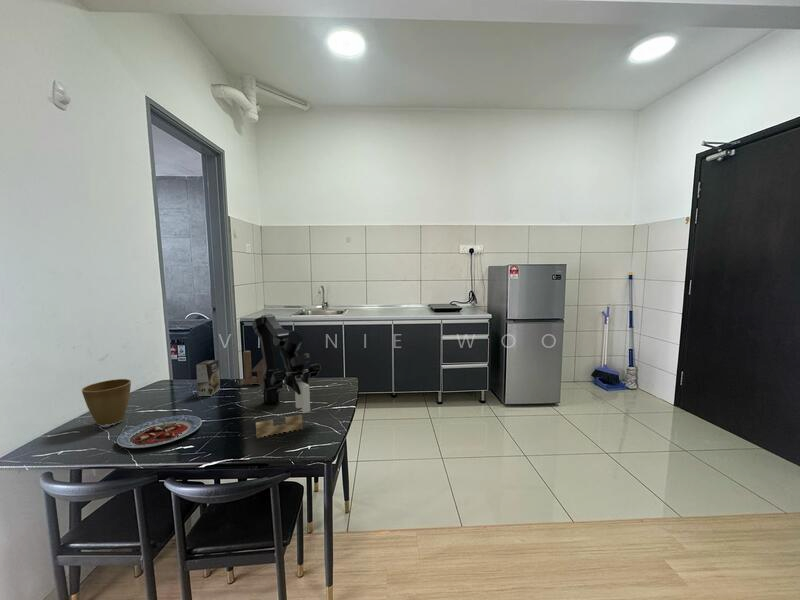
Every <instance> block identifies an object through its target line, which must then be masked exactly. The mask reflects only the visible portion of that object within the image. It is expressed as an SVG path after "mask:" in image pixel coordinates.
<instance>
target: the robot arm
mask: <svg viewBox="0 0 800 600" xmlns="http://www.w3.org/2000/svg"><path fill="white" fill-rule="evenodd" d="M251 323H252V325H251V326H252V329H253V331H254V334H255V335H256V336H257V337H258V338H259V341H260V347H261V353H262V359H263V361H264V367H265V370H264V372H263V375H262V381H261V383H260V385H259V389H260V391H261V392H263V394H262V395H263V402H262V403H261V404H262V405H263V404H272V405H273V404H274V405H277V404H278V403H279V402H280V401H281V400H282V396H281V394H282V393H281V391H280V389H283V385H284V386H287V387H289V388H290V389H292V390H293V391H294V393H295V392H297V393H298V394H299V395H300V394H301V392H300V389H299V386H298V384H297V380H296V377H301V379H300V381H302V382H304V383H306V384H308V385H309V379H310V378H315V377H317V376H318V375H319V374H320V372H321V370H322V367H321V364H319V363H314V364H310V365H309V366H308V368H306V369H304V368H305V367H306V366H305V365H306V364H308V363H309V362H310V361H311V359H312V358H311V356H310V353H307V352H306V353H303V354H302V355H298V353H297V352H298V350H300V347H301V344H302V342H303V336H302V335H301V333H299V332H296V331H295V330H288V329H285V328H283V327H282V325H281V324H280V322H278V320H277V319H276V316H275V314H272V313H270V314H263V315H261V316H260V317H257V318H255V319H253V321H252V322H251ZM271 335H272V336H273V337H272V338H271ZM272 343H273V345H272ZM273 346H275V347H276V348H281V349H280V352H279V353H280V354H279V356H280V357H281V358H282V361H283V364H284V366H283V368H284V369H286V372H285V370H281V369H280V368H278V367H277V366H276V362H275V355H274V351H273V350H274V349H273Z"/></svg>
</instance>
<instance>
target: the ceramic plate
mask: <svg viewBox="0 0 800 600" xmlns="http://www.w3.org/2000/svg"><path fill="white" fill-rule="evenodd" d="M202 421H203V420H202V419H201V418H200V417H198V416H196V415H195V416H194V415H183V414H181V415H172V416H166V417H161V418H157V419H152V420H149V421H145V422H143V423H140V424H137V425H135V426H133V427H130V428H128V429H127V430H125V431H124V432H122V433H121V434H119V436H118V437H117V439H116V443H117V445H119V446H120V447H123V448H129V449H141V448H142V449H144V448H150V447H156V446H160V445H164V444H168V443H172V442H175V441H177V440H180V439H183V438H185V437H186V436H189V435H190V434H192V433H194V432H196V431H197V430H198V429H199V428H200V427H201V425H202V423H203V422H202ZM170 423H171V424H172V423H176V424H174V425H169V424H170ZM166 424H167V425H166ZM157 425H159V426H161V425H165V426H166V427H158V426H157ZM153 426H157V427H153ZM150 427H152V428H150ZM147 428H150V429H147ZM145 429H147V430H145ZM143 430H145V431H144V432H143V433H140V434H139V435H138V436H137V437H135V438H134V440H133V443H132V442H130V438H131V437H132V436H133V435H135V434H136V433H139V432H140V431H143ZM180 433H182V434H180ZM177 435H179V436H178V437H177ZM165 440H167V441H165ZM159 441H160V442H159ZM162 441H163V442H162ZM154 442H158V443H154ZM149 443H153V444H149ZM137 444H142V445H137ZM144 444H145V445H144Z"/></svg>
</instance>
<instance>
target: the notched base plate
mask: <svg viewBox="0 0 800 600" xmlns="http://www.w3.org/2000/svg"><path fill="white" fill-rule="evenodd" d="M299 429H301V430H303V429H304V427H303V415H302V414H297V415H291V416H286V417H285V423H282V424H278V425H277V424H276V425H274V420H273V419H269V420H263V421H262V420H261V421H257V422H255V430H256V431H255V433H256V434H255V435H256V439H260V437H261V438H265V437H264V436H266V437H269V436H268V435H271V436H274V435H273V434H276V435H279V434H278V433H281V434H284V433H283V432H286V433H290V432H289V431H291V432H295V431H294V430H296V431H300V430H299Z"/></svg>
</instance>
